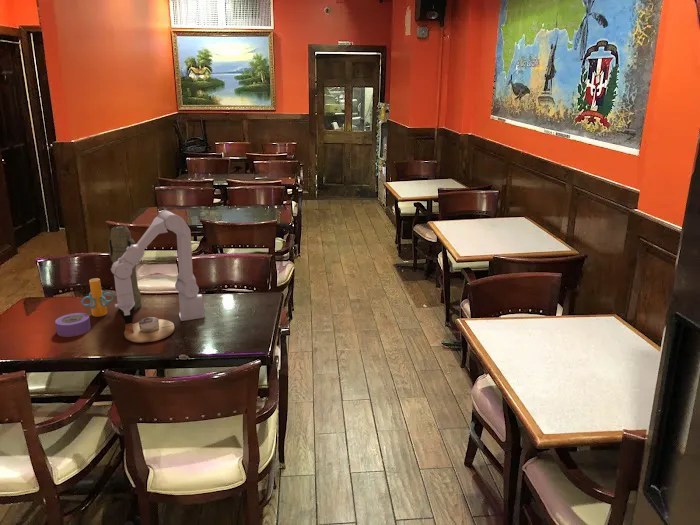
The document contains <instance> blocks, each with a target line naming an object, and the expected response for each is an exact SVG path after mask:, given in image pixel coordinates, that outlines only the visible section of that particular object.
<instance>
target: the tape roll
mask: <svg viewBox="0 0 700 525" xmlns="http://www.w3.org/2000/svg"><path fill="white" fill-rule="evenodd" d="M90 320H91V319H90V316H89V314H88V313H85V312H84V313H83V312H75V313H68V314H65V315H62V316H60V317H58V318H56V320H55V321H54V323H55V328H56V334H57V335H58V336H59V337H66V338H70V337H72V338H73V337H77V336H81V335H83V334H86V333H88V332H90V330H91V328H92V327H91V321H90Z"/></svg>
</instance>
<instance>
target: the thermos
mask: <svg viewBox="0 0 700 525" xmlns="http://www.w3.org/2000/svg"><path fill="white" fill-rule="evenodd" d="M131 235H132V234H131V231H130V229H129V228H128V226H126V225H116V226H113V227H112V228H111V230H110V237H109V238H108V240H107V245H108V252H109V258H110V262H112V264H113V263H114V262H117V261H119V260H118V259H119V258H121V257H122V256H123V254H124V253H125V252H126V251H127V250H126V248H127V247H130V246H131V245H134V244H137V243H136V241H135V240H134V238H132V236H131ZM136 268H137V264H136V265H135V266H134V267H133V268H132V274H131V275H130V278H131V283H132V290H133V297H134V302H135V305H134V306H135V311H136V310H139V309H140V308H141V307H142V302H141V301H142V297H141V296H142V295H141V291H140V289H139V285H138V277H137V276H138V275H137V269H136ZM138 308H139V309H138Z"/></svg>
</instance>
